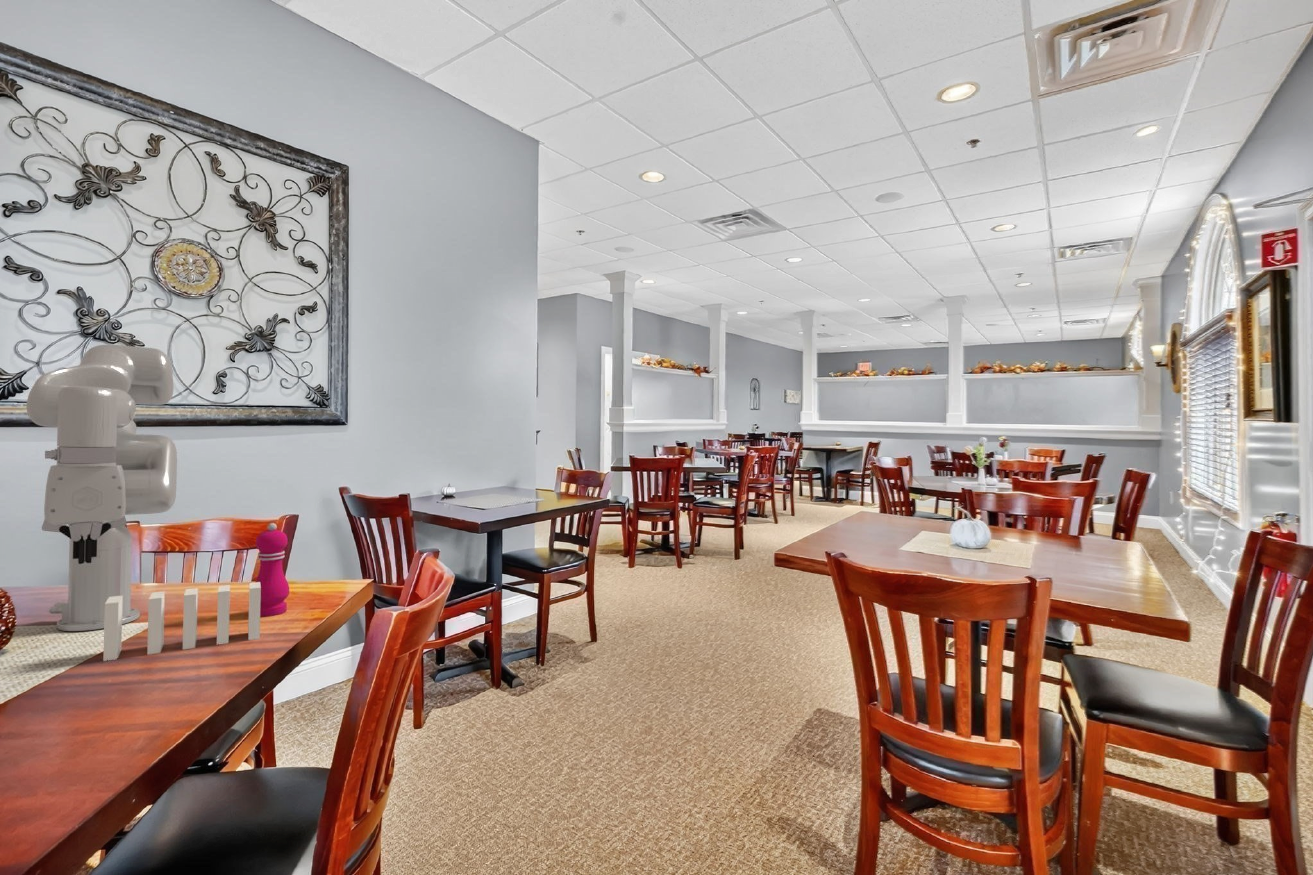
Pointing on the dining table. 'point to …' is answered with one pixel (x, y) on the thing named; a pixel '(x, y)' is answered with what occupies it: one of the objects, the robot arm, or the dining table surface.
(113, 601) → the domino loose
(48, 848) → the dining table surface
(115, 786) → the dining table surface
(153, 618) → the domino
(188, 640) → the domino
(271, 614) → the pepper mill
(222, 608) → the domino
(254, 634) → the domino
